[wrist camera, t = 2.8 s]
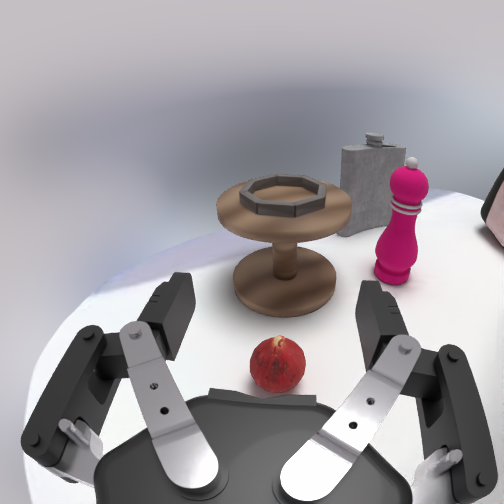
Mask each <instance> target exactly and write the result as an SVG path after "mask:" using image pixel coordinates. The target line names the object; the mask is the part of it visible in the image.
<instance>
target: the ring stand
mask: <svg viewBox="0 0 504 504" xmlns="http://www.w3.org/2000/svg"><path fill="white" fill-rule="evenodd" d="M216 206H217V214H218V219H219V221H220V223H221V224H222V225H223V227H225V228H226V229H227V230H228V231H230V232H232V233H234V234H236V235H238V236H241V237H244V238H247V239H251V240H256V241H261V242H269V243H272V247H268V248H264V249H261V250H258V251H255V252H253V253H251V254H249V255H248V256H246V257H245V258H243V259H242V260H241V261H240V262H239V263H238V265H237V266H236V268H235V270H234V274H233V282H234V289H235V292H236V295H237V297H238V298H239V300H240V301H241V302H242V303H243V304H244V305H246V306H247V307H248V308H250V309H252V310H254V311H256V312H258V313H261V314H264V315H268V316H273V317H296V316H301V315H305V314H308V313H311V312H313V311H316V310H318V309H319V308H321V307H322V306H324V305H325V304H326V303H327V302H328V301H329V300H330V298H331V297H332V295H333V293H334V290H335V284H336V272H335V269H334V267H333V266H332V264H331V263H330V262H329V261H328V260H327V259H326V258H325V257H324V256H322V255H321V254H319V253H317V252H315V251H312V250H309V249H306V248H302V247H297V243H300V242H307V241H313V240H318V239H322V238H325V237H328V236H330V235H332V234H335V233H337V232H338V231H340V230H342V229H343V228H344V227H345V226H346V225H347V224H348V222H349V221H350V218H351V209H352V201H351V199H350V197H349V196H348V194H347V193H346V192H344V191H343V190H342V189H340V188H338V187H336V186H334V185H332V184H329V183H327V182H323V181H320V180H316V179H313V178H311V177H308V176H305V175H288V174H273V175H268V176H264V177H260V178H255V179H251V180H248V181H247V182H244V183H241V184H238V185H235V186H233V187H231V188H230V189H228V190H227V191H225V192H224V193H223V194H221V196H220V197H219V198H218V200H217V204H216Z"/></svg>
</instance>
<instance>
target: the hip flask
mask: <svg viewBox="0 0 504 504" xmlns="http://www.w3.org/2000/svg"><path fill="white" fill-rule="evenodd" d="M366 138H367V144H363V145H352V146H345V147H342V161H341V180H340V181H341V182H340V189H342V190H343V191H344V192H346V193H347V194H348V196H349V197H350V199H351V201H352V209H351V218H350V221H349V222H348V224H347V225H346V226H345V227H344V228H343V229H342V230H340V231H338V232H337V234H338V235H340V236H342V237H349V236H351V235H353V234H356V233H359V232H362V231H365V230H368V229H372V228H376V227H382V226H388V224H389V222H390V220H391V216H392V207H391V206H390V202H391V196H392V195H393V193H392V191H391V189H390V178H391V175H392V173H393V172H394V171H395V170H396V169H397V168H399V167H404V161H405V152H406V147H404V146H402V145H397V144H391V143H383V142H382V140H384V135H382V134H378V133H366Z"/></svg>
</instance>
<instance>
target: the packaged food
mask: <svg viewBox="0 0 504 504" xmlns="http://www.w3.org/2000/svg"><path fill="white" fill-rule="evenodd" d="M481 217H482V219H483V220H484V222H485V223H486V225H487V226H488V227H489V228H490V230H491V231H492V232H493V234H494V235H495V237H496V238H497V239H498V241H499V242H500V244H501V245H502V246H503V247H504V168H503V170H502V172H501V173H500V175H499V176H498V178H497V180H496V181H495V183H494V185H493V187H492V189H491V190H490V192H489V194H488V196H487V198H486V200H485V202H484V204H483V206H482V208H481Z"/></svg>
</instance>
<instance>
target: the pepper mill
mask: <svg viewBox="0 0 504 504" xmlns="http://www.w3.org/2000/svg"><path fill="white" fill-rule="evenodd" d="M406 165H407V166H404V167H399V168H397V169H396V170H395V171H394V172H393V173H392V175H391V178H390V189H391V191H392V193H393V195H392V196H391V202H390V206H391V207H392V216H391V220H390V222H389V224H388V226H387V228H386V229H385V231H384V232H383V233H382V235H381V236H380V238H379V240H378V242H377V245H376V249H375V252H376V256H377V258H378V259H377V260H376V264H375V269H374V272H375V275H376V276H377V277H378V278H379V279H380V280H381V281H383V282H385V283H388V284H393V285H398V284H402V283H404V282H406V281H407V280H408V277H409V274H410V270H411V268H410V267H411V266H412V265H413V264H414V263H415V262H416V259H417V254H418V246H417V241H416V236H415V222H416V218H417V215H418V214H419V213H420V212H421V207H422V202H421V200H423V199H424V198H425V197H426V195H427V193H428V188H429V186H428V180H427V178H426V176H425V175H424V173H422V172H421V171H420V170H418V169H416V168H417V166H418V162H417V160H416V159H415V158H413V157H410V158H408V159H407V161H406Z"/></svg>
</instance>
